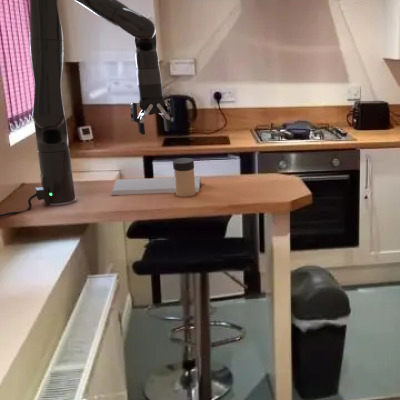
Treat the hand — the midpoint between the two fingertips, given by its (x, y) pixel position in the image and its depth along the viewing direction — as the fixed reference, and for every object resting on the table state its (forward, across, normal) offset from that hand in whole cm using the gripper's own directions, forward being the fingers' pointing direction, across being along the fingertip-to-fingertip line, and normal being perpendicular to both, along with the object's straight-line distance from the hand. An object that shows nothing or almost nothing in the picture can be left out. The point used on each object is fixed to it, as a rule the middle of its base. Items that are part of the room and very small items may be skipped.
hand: (155, 132), depth 195 cm
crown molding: (+22, -3, -8) cm, 23 cm away
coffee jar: (+21, -6, +5) cm, 23 cm away
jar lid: (+10, -6, +6) cm, 13 cm away
